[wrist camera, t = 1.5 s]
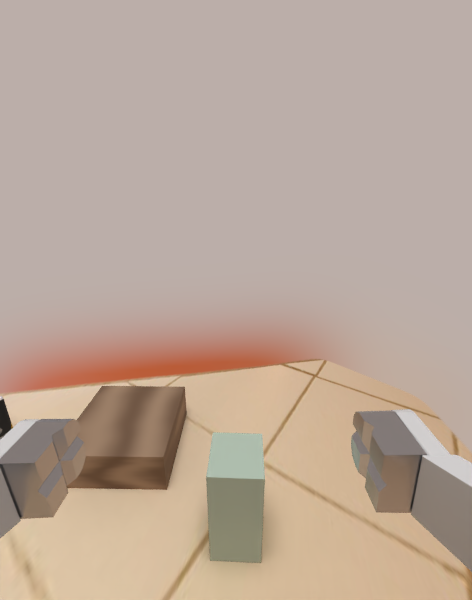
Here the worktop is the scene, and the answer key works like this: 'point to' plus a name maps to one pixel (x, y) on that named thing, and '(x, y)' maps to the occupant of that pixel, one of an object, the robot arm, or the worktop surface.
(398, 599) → the worktop surface
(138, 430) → the walnut block
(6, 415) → the medicine bottle
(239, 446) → the sage block
